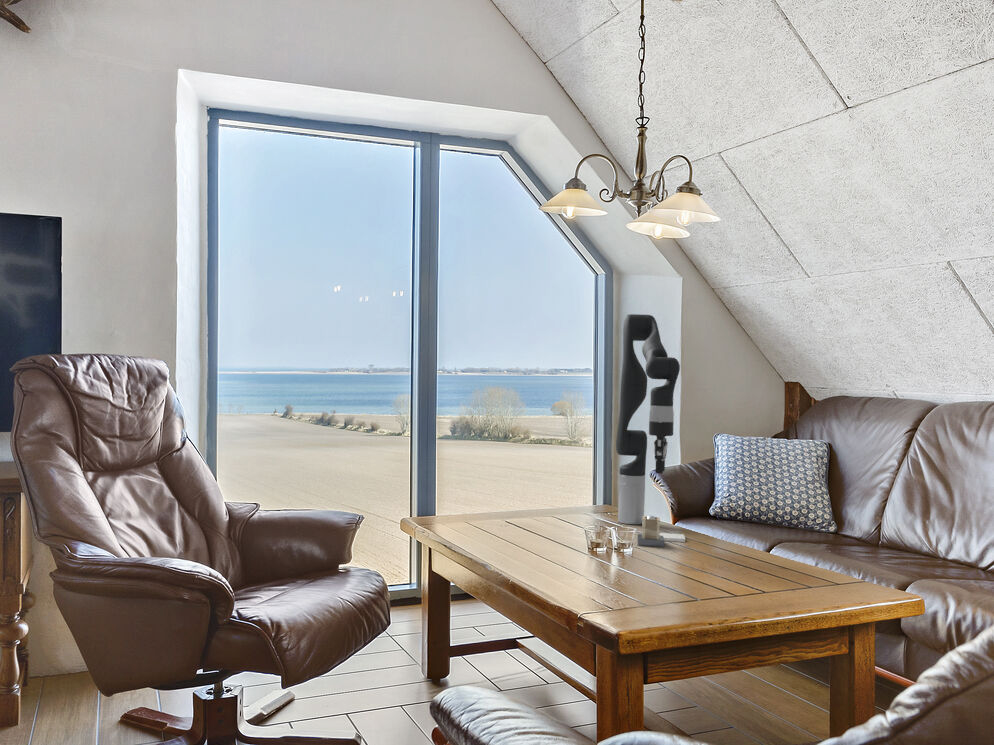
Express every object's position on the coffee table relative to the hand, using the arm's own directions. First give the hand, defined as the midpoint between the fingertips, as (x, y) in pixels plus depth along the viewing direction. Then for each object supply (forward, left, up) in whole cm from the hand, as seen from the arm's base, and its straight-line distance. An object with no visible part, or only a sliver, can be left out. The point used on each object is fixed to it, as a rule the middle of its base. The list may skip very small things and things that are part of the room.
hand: (660, 472), depth 259 cm
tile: (-9, +5, -22) cm, 25 cm away
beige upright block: (+1, -2, -20) cm, 21 cm away
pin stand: (+1, -2, -22) cm, 23 cm away
